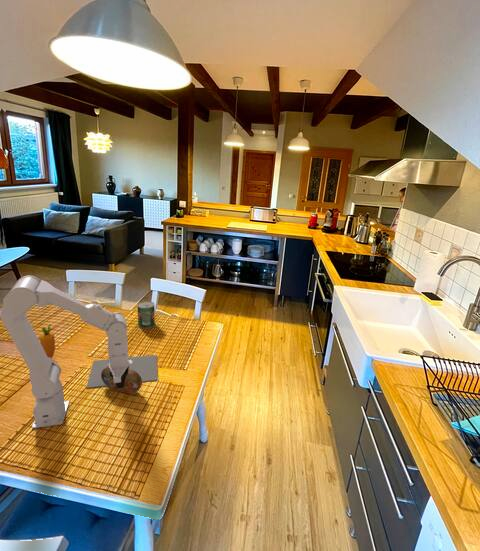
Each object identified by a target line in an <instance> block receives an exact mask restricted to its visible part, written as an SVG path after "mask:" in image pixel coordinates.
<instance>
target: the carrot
mask: <svg viewBox="0 0 480 551" xmlns="http://www.w3.org/2000/svg"><path fill="white" fill-rule="evenodd" d="M51 325H52V324H48V326H47V328H46V327H45V326H42V327H41V331H42V332H43V333H41V334H40V336H39V341H40V343H41V345H42V347H43V349H44V351H45V353H46V355H47V357H48V358H52V359H53V357H54V354H55V350H56V341H55V340H56V339H55V333H53V332H51V331H52V330H53V327H51Z"/></svg>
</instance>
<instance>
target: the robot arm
mask: <svg viewBox="0 0 480 551" xmlns="http://www.w3.org/2000/svg"><path fill="white" fill-rule="evenodd" d="M2 301H3V304H2V308H1V311H0V320H1V322H2V323H3V325H4V327H5V328H6V330H7V333H8V334H9V336H10V338H11V340H12V341H13V344H14V345H15V347H16V349H17V350H18V352H19V353H20V356H21V358H22V359H23V361H24V363H25V365H26V366H27V368H28V371H29V373H28V374H29V382H30V384H31V394H32V396H34V399H35V404H34V407H33V409H32V413H33V414H32V415H33V420H34V421H33V423H32V425H31V428H32V429H39V428H45V427H46V428H47V427H53V426H58V425H59V426H60V425H62V424H63V423H64V420H65V416H66V414H67V412H68V407H69V405H70V401H69V400H66V401H65V395H64V388H63V383H62V382H61V380H60V376H61V374H62V368H61V366H60V365H59V364H57V362H55V361H54V359H53V357H52V358H48V357H47V355H46V353H45V351H44V349H43V347H42V345H41V343H40V338H39V337H38V336H37V333H36V331H35V329H34V328H33V326H32V324H31V322H30V319H29V318H28V316H27V314H26V313H27V312H28V311H29V310H31V309H32V308H33V307H34V306H35V305H36V304H37V308H43V307H46V306H49V305H53V306H55V307H57V308H60V309H63V310H65V311H67V312H70V313H73V314H76V315H78V316H80V320H81V321H82V322H83V323H86V324H88V325H90V326H93V327H95V328H97V329H99V330H101V331H104V332H105V334H106V336H107V350H108V359H109V368H110V376H111V377H112V378H113V380H114V383H115V384H116V387H117V388H124V384H125V378H126V376H127V374H128V371H129V366H130V365H132V360H128V357H129V348H128V347H129V346H128V345H129V344H128V343H129V342H128V335H127V333H128V327H127V319H126V317H125V315H124V314H122V312H117V311H116V312H115V311H113V312H112V311H110V310H108V309H105V308H103V306H102V304H100V303H97V304H95V303H88V304H86V303H84V302H82V301H80V300H79V299H76V298H75V297H72V296H71V295H69V294H68V293H66V292H63V291H62V290H60V289H58V288H56V287H54V286H53V285H52V284H50V283H49V282H48V281H45V280H40V278H39V277H36V276H34V275H25V276H22V277H20V278H19V279H18V280H17V281H16V282H15V283H14V284H13V285H12V287H11V289H10V290H9V292H8V293H7V294H6V296H5V297H4V298H3V299H2Z"/></svg>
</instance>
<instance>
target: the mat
mask: <svg viewBox="0 0 480 551" xmlns="http://www.w3.org/2000/svg"><path fill="white" fill-rule="evenodd" d="M157 358H158V356H157V354H152V355H151V354H150V355H141V356H140V355H139V356H131V357H130V356H128V360H132V365H130V366H129V369H131V370H134V371H136V372H137V373H138V374H139V375H140V377H141V379H142V383H146V382H147V383H148V382H154V381H159V379H158V361H157V360H158V359H157ZM108 366H109V358H108V359H96V360H93V362H92V365H91V368H90V371H89V372H90V373H89V376H88V380H87V383H86V389H93V388H101V387H107V386H106V385H105V384H104V382H103V380H102V378H101V373H102V371H103V369H105V368H106V367H108Z"/></svg>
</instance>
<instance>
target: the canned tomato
mask: <svg viewBox="0 0 480 551" xmlns="http://www.w3.org/2000/svg"><path fill="white" fill-rule="evenodd" d="M136 307H137V326H138V328H140V329H144V330H145V329H152V328H153V327H154V326H156V324H155V321H156V320H155V318H156V317H155V314H156V313H155V312H156V311H155V302H153V301H151V300H149V301H148V300H144V301H140V302H138V303H137V305H136Z"/></svg>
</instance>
